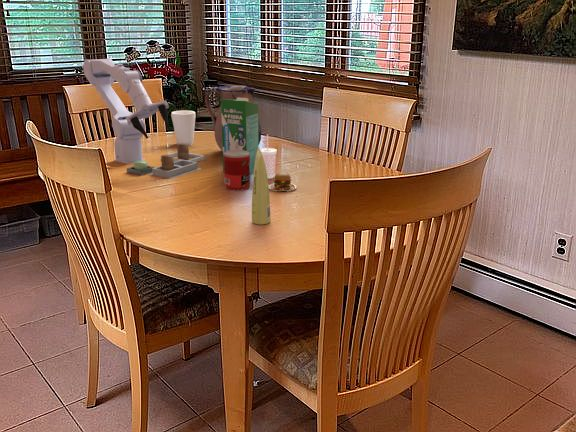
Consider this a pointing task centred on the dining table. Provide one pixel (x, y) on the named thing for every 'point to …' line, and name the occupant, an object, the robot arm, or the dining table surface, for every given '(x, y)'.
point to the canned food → (237, 169)
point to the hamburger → (282, 181)
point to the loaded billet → (167, 162)
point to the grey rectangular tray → (176, 169)
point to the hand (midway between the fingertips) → (157, 132)
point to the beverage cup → (269, 160)
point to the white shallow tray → (195, 157)
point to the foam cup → (184, 126)
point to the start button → (140, 165)
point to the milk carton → (240, 127)
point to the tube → (260, 192)
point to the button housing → (138, 172)
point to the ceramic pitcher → (231, 94)
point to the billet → (183, 151)
